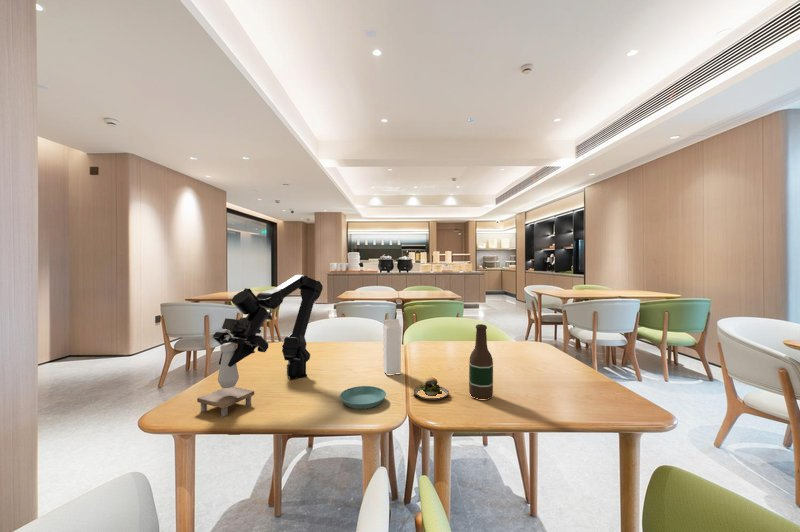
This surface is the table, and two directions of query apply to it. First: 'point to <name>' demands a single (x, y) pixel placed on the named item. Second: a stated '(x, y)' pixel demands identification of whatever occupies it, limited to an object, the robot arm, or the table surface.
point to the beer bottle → (481, 367)
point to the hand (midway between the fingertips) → (224, 365)
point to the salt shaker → (227, 367)
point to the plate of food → (431, 389)
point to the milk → (392, 346)
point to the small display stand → (225, 398)
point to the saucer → (363, 397)
